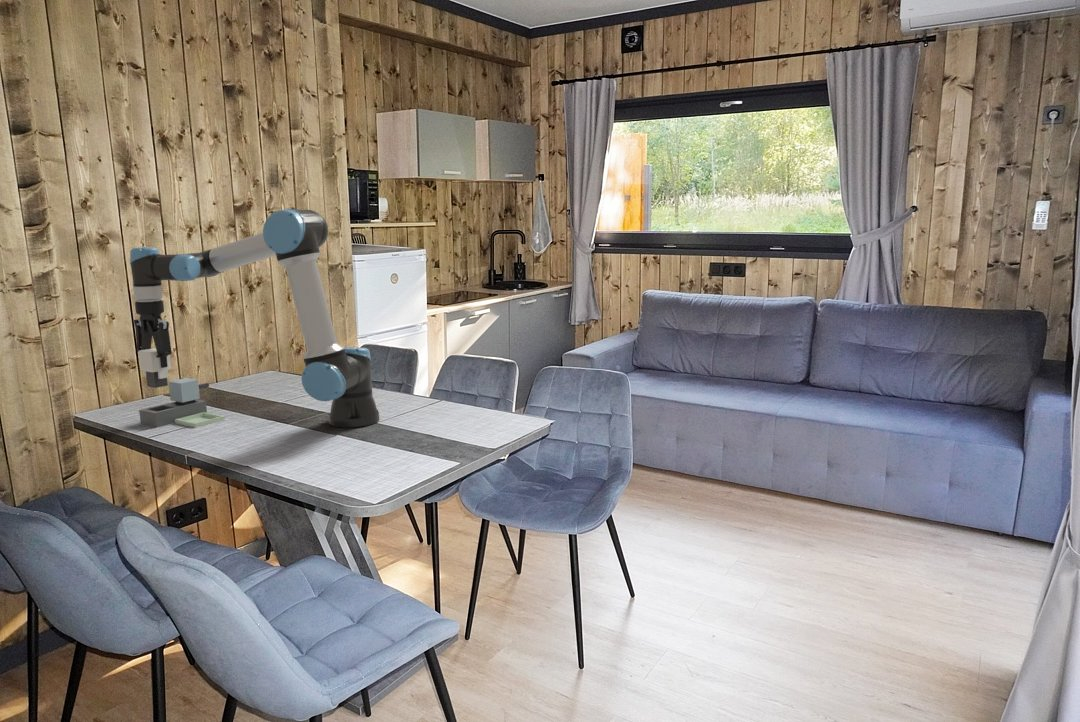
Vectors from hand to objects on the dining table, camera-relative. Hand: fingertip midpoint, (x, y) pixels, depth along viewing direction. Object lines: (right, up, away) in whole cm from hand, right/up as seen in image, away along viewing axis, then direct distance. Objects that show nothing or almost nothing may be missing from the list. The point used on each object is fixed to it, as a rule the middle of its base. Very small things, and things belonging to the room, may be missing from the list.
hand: (156, 376), depth 228 cm
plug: (0, -3, +1) cm, 3 cm away
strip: (+4, -14, +8) cm, 16 cm away
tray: (+12, -14, +3) cm, 19 cm away
